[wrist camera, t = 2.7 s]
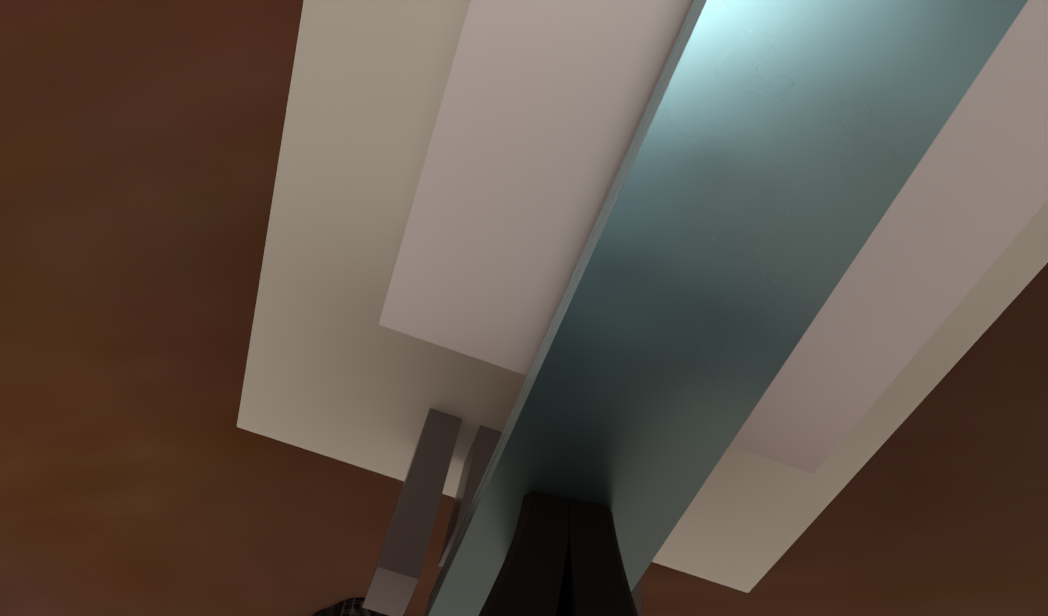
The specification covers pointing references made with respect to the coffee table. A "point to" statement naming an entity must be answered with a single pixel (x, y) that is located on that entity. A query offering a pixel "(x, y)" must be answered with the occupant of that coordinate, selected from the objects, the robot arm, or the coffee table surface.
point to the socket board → (401, 373)
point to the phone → (349, 609)
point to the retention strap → (717, 255)
